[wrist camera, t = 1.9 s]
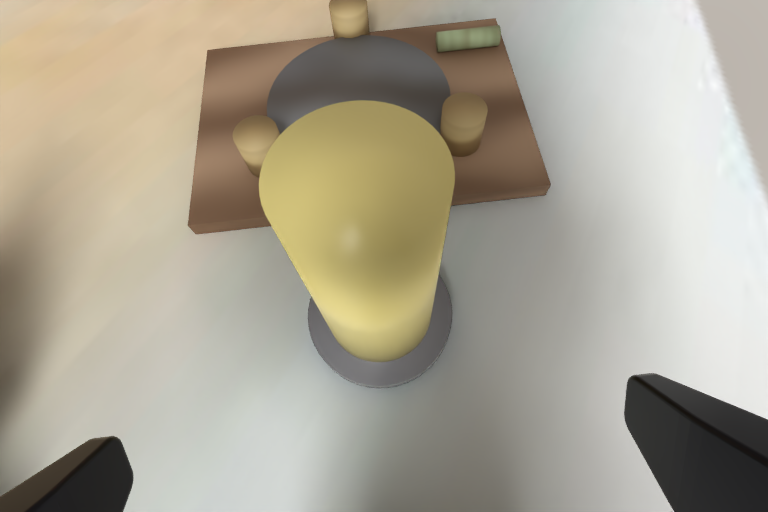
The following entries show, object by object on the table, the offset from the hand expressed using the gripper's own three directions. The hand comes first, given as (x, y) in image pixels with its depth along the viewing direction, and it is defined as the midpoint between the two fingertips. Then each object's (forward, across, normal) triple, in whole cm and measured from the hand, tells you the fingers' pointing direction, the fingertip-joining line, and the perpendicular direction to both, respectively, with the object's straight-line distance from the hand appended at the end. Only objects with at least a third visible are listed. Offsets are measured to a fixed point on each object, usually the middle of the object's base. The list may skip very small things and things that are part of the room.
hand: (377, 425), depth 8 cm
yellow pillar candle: (+13, 0, +5) cm, 14 cm away
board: (+22, 0, -4) cm, 23 cm away
